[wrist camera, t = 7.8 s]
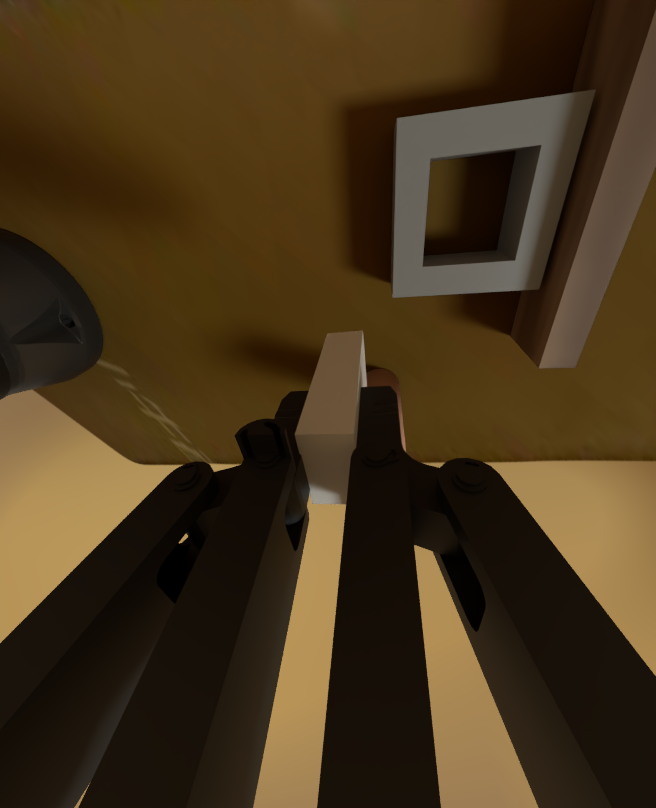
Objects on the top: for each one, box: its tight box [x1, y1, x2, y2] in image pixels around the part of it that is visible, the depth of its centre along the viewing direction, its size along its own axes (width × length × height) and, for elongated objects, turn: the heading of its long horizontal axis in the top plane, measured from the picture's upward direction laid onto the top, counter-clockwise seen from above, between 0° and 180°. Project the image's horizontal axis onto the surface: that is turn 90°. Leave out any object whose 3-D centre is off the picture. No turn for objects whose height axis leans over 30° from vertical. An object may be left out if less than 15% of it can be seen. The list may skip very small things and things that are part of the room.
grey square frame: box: [391, 89, 596, 298], centre depth 21 cm, size 10×10×4 cm
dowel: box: [366, 369, 406, 452], centre depth 27 cm, size 4×4×14 cm
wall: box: [510, 0, 656, 368], centre depth 19 cm, size 2×20×6 cm, turn 6°
